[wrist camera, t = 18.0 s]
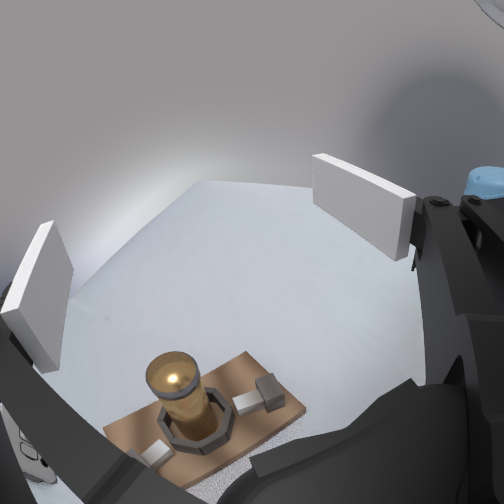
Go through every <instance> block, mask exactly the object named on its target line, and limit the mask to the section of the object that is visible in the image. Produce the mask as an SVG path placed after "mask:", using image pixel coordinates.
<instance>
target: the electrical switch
mask: <svg viewBox="0 0 504 504" xmlns="http://www.w3.org/2000/svg"><path fill="white" fill-rule="evenodd" d="M0 411H1V414H2V417H3V421H4V424H5V427H6V430H7V433H8V436H9V439H10V441H11V444H12V447H13V450H14V452H15V455H16V457H17V460H18V462H19V465H20V467H21V470H22V471H25V472H23V474H24V477H25V478H27V479H29V480H31V481H34V482H36V483H39V482H41V481H46V482H48V483H50V484H51V483H53V482H55V481H56V476H55V472H54V471H53V470H52V469H51V468H50V467H49V465H48V464H47V463H46V462H45V461H44V460H43V458H42V457H41V456H40V455H39V454H38V452H37V451H36V450H35V449H34V447H33V446H32V445H31V443H30V442H29V441H28V440H27V438H26V437H25V436H24V434H23V433H22V431H21V430H20V429H19V427H18V426H17V425H16V423H15V422H14V420H13V419H12V417H11V416H10V414H9V413H8V411H7V410H6V408H5V407H4V405H2V406H0ZM27 473H29V474H27Z"/></svg>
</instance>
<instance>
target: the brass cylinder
mask: <svg viewBox="0 0 504 504" xmlns="http://www.w3.org/2000/svg"><path fill="white" fill-rule="evenodd" d="M146 382H147V384H148V386H149V387H150V389H151V391H152V392H153V393H154V394H155V395H156V396H157V397H158V398H159V400H160V402H161V403H162V405H163V406H164V408H165V409H166V411H167V413H168V414H169V416H170V417H171V419H172V420H173V422H174V423H175V425H176V426H177V428H178V429H179V431H180V432H181V434H182V435H183V436H184V437H185V438H187V439H189V440H191V441H201V440H203V439H205V438H207V437H208V436H210V435H212V434H214V433H215V431H216V429H217V426H218V422H217V418H216V416H215V413H214V411H213V409H212V406H211V404H210V401H209V399H208V397H207V394H206V392H205V389H204V387H203V384H202V382H201V379H200V371H199V368H198V366H197V363H196V361H195V360H194V359H193V358H192V357H191V356H190V355H188V354H186V353H183V352H177V351H174V352H168V353H164V354H162V355H160V356H158V357H156V358H155V359H154V360H153V361H152V362H151V363H150V364H149V366H148V368H147V370H146Z"/></svg>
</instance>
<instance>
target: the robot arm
mask: <svg viewBox="0 0 504 504" xmlns="http://www.w3.org/2000/svg"><path fill="white" fill-rule="evenodd" d="M475 2H476V3H477V4H478V5H479V7H480V8H481V9H482V11H483V12H484V13H485V14H486V15H487V16H489V17H490V18H491V19H492V20H493V21H494V22H495V23H496V24H497V25H499V26H500V27H502V28H503V29H504V0H475ZM312 174H313V203H314V204H315V205H317V206H318V207H320V208H321V209H322V210H324V211H325V212H327V213H328V214H330V215H331V216H333V217H334V218H335V219H337V220H338V221H340V222H341V223H343V224H344V225H345V226H347V227H348V228H350V229H351V230H353V231H354V232H355V233H357V234H358V235H359V236H361V237H362V238H364V239H365V240H366V241H368V242H369V243H370V244H372V245H373V246H375V247H376V248H377V249H379V250H380V251H381V252H383V253H384V254H385V255H387V256H388V257H389V258H391V259H392V260H393V261H398V260H400V259H403V258H405V257H407V256H408V251H409V245H410V243H411V244H412V245H414V246H415V247H416V250H415V255H414V260H413V265H412V270H411V271H414V268H416V269H417V276H418V283H419V291H420V300H421V309H422V319H423V331H424V345H425V366H426V384H425V385H424V386H419V387H418V386H417V385H416V383H415V382H414V381H413V380H412V379H411V378H410V379H408V380H407V381H405V382H404V383H402V384H400V385H399V386H397V387H396V388H394V389H392V390H391V391H389V392H387V393H386V394H384V395H382V396H381V397H379V398H378V399H377V400H376V401H375V402H374V403H373V404H372V405H370V406H369V407H368V408H367V409H366V410H365V411H364V412H363V413H362V414H361V415H360V416H359V417H358V418H357V419H356V420H355V421H353V422H352V423H351V424H350V425H349V426H348V427H346V428H344V429H341V430H337V431H333V432H329V433H325V434H320V435H316V436H311V437H306V438H301V439H295V440H293V441H290V442H288V443H286V444H283V445H281V446H278V447H276V448H273V449H271V450H268V451H265V452H263V453H260V454H257V455H255V456H252V457H249V459H250V462H251V465H252V468H251V469H250V470H248V471H247V472H245V473H244V474H242V475H241V476H240V477H239V478H237V479H236V480H235V481H234V482H233V483H232V484H231V485H230V486H229V487H228V488H227V489H226V490H225V492H224V493H223V494H222V496H221V497H220V498H219V500H218V502H217V504H504V168H500V167H491V166H485V167H478V168H475V169H473V170H472V171H471V172H470V174H469V176H468V180H467V185H466V189H465V191H464V195H463V196H462V198H461V204H460V206H453V205H452V204H451V203H450V202H449V201H448V200H446V199H443V198H442V197H437V196H434V197H433V196H430V197H425V198H424V199H421V198H419V197H417V196H416V194H414V193H412V192H410V191H408V190H406V189H404V188H401V187H399V186H397V185H395V184H393V183H391V182H389V181H387V180H385V179H383V178H380V177H378V176H376V175H374V174H372V173H369V172H367V171H365V170H363V169H360V168H358V167H356V166H353V165H351V164H349V163H346V162H344V161H341V160H339V159H337V158H334V157H332V156H329V155H327V154H324V153H323V154H317V155H312ZM73 271H74V268H73V266H72V264H71V261H70V259H69V256H68V254H67V252H66V249H65V247H64V244H63V241H62V239H61V236H60V234H59V231H58V228H57V226H56V223H55V220H53V221H51V222H47V223H44V224H41V226H40V227H39V229H38V231H37V233H36V235H35V237H34V238H33V240H32V242H31V244H30V246H29V249H28V250H27V252H26V254H25V257H24V259H23V261H22V263H21V265H20V267H19V269H18V271H17V274H16V276H15V278H14V281H13V282H11V283H10V284H9V285H8V286H7V287H6V289H5V290H4V291H3V294H2V296H1V298H0V299H1V300H0V403H1V402H2V404H3V405H4V407H5V408H6V410H7V411H8V413H9V414H10V416H11V417H12V419H13V420H14V422H15V423H16V425H17V426H18V427H19V429H20V430H21V431H22V433H23V434H24V436H25V437H26V438H27V440H28V441H29V442H30V443H31V445H32V446H33V447H34V449H35V450H36V451H37V452H38V454H39V455H40V456H41V457H42V458H43V460H44V461H45V462H46V463H47V464H48V465H49V467H50V468H51V469H52V470H53V471H54V472H55V473H56V475H57V476H58V477H59V478H60V479H61V480H62V481H63V482H64V483H65V484H66V485H67V486H68V487H69V488H70V490H71V491H72V492H73V493H74V494H75V495H76V496H77V497H78V498H79V499H80V500H81V501H82V502H83V503H84V504H208V503H206V502H204V501H202V500H201V499H199V498H197V497H195V496H194V495H192V494H190V493H188V492H187V491H185V490H183V489H182V488H180V487H178V486H177V485H175V484H173V483H172V482H170V481H169V480H167V479H165V478H164V477H162V476H161V475H159V474H158V473H156V472H155V471H153V470H152V469H150V468H149V467H147V466H146V465H144V464H143V463H141V462H140V461H139V460H137V459H135V458H134V457H130V456H129V455H127V454H126V453H124V452H123V451H122V450H121V449H119V448H118V447H117V446H115V445H114V444H113V443H112V442H110V441H109V440H108V439H107V438H105V437H104V436H103V435H102V434H101V433H99V432H98V431H97V430H96V429H95V428H94V427H92V426H91V425H90V424H89V423H88V422H87V421H86V420H84V419H83V418H82V417H81V416H80V415H79V414H78V413H77V412H76V411H75V410H74V409H72V408H71V407H70V406H69V405H68V404H67V403H66V402H65V401H64V400H63V399H62V398H61V397H60V396H59V395H58V394H57V393H56V392H55V391H54V390H53V389H52V388H51V387H50V386H49V385H48V384H47V383H46V382H45V380H44V379H43V378H42V377H41V376H40V375H39V374H38V373H37V372H36V371H35V370H34V368H33V363H34V365H35V366H36V367H37V368H38V370H39V371H40V372H41V374H44V373H48V372H53V371H57V370H59V366H60V355H61V346H62V338H63V330H64V323H65V316H66V309H67V303H68V297H69V292H70V286H71V281H72V276H73ZM0 504H37V502H36V500H35V498H34V496H33V494H32V492H31V490H30V487H29V485H28V483H27V481H26V479H25V477H24V474H23V472H22V470H21V467H20V465H19V462H18V460H17V457H16V455H15V452H14V450H13V447H12V444H11V441H10V439H9V436H8V433H7V430H6V427H5V424H4V421H3V417H2V414H1V411H0Z"/></svg>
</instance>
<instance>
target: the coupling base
mask: <svg viewBox="0 0 504 504" xmlns="http://www.w3.org/2000/svg"><path fill="white" fill-rule="evenodd" d="M200 379H201V382H202V384H203V387H204V389H205V392H206V394H207V397H208V399H209V401H210V404H211V406H212V409H213V411H214V413H215V416H216V418H217V422H218V426H217V429H216V431H215V433H214V434H212V435H210V436H208V437H207V438H205V439H203V440H201V441H191V440H189V439H187V438H185V437H184V436H183V435H182V434H181V432H180V431H179V429H178V428H177V426H176V425H175V423H174V422H173V420H172V419H171V417H170V416H169V414H168V413H167V411H166V409H165V408H164V406H163V405H162V403H161V402H160V400H158V401H156V402H154V403H152V404H150V405H148V406H146V407H144V408H142V409H140V410H138V411H136V412H134V413H132V414H130V415H128V416H126V417H124V418H122V419H119V420H117V421H115V422H113V423H111V424H109V425H107V426H105V427H103V430H104V432H105V434H106V437H107V439H108V440H109V441H110V442H112V443H113V444H114V445H115V446H117V447H118V448H119V449H121V450H122V451H123V452H124V453H126V454H127V455H129V456H130V457H134V458H135V459H137V460H139V461H140V462H141V463H143V464H144V465H146V466H147V467H149V468H150V469H152V470H153V471H155V472H156V473H158V474H159V475H161V476H162V477H164V478H165V479H167V480H169V481H170V482H172V483H173V484H175V485H177V486H178V487H180V488H182V489H183V490H185V489H187V488H189V487H191V486H193V485H195V484H196V483H198V482H200V481H202V480H204V479H206V478H207V477H209V476H211V475H213V474H214V473H216V472H218V471H220V470H221V469H223V468H225V467H226V466H228V465H230V464H231V463H233V462H235V461H236V460H238V459H239V458H241V457H243V456H244V455H246V454H247V453H249V452H250V451H252V450H254V449H255V448H257V447H258V446H260V445H261V444H263V443H264V442H266V441H267V440H269V439H270V438H271V437H273V436H274V435H276V434H277V433H279V432H280V431H281V430H283V429H284V428H286V427H287V426H288V425H290V424H291V423H293V422H294V421H295V420H297V419H298V418H299V417H301V416H302V415H303V414H305V413H306V407H305V406H304V405H303V404H302V403H301V402H299V401H298V400H297V399H296V398H295V397H294V396H293V395H292V394H291V393H290V392H289V391H287V390H286V389H285V388H284V387H283V386H282V385H281V384H280V383H279V382H278V381H277V380H276V378H275V376H274V374H273V373H270V374H269V373H268V372H267V371H266V370H265V369H264V368H263V367H262V366H261V365H260V364H259V363H258V362H257V361H256V360H255V359H254V358H253V357H252V356H251V355H250V354H249V353H248V352H247V351H245V352H244V353H242V354H240V355H239V356H237V357H235V358H234V359H232V360H230V361H228V362H227V363H225V364H223V365H222V366H220V367H218V368H216V369H215V370H213V371H211V372H209V373H207V374H206V375H204V376H202V377H200Z"/></svg>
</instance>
